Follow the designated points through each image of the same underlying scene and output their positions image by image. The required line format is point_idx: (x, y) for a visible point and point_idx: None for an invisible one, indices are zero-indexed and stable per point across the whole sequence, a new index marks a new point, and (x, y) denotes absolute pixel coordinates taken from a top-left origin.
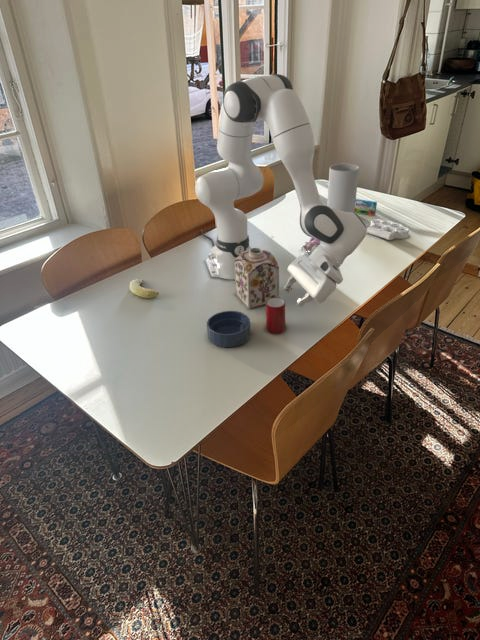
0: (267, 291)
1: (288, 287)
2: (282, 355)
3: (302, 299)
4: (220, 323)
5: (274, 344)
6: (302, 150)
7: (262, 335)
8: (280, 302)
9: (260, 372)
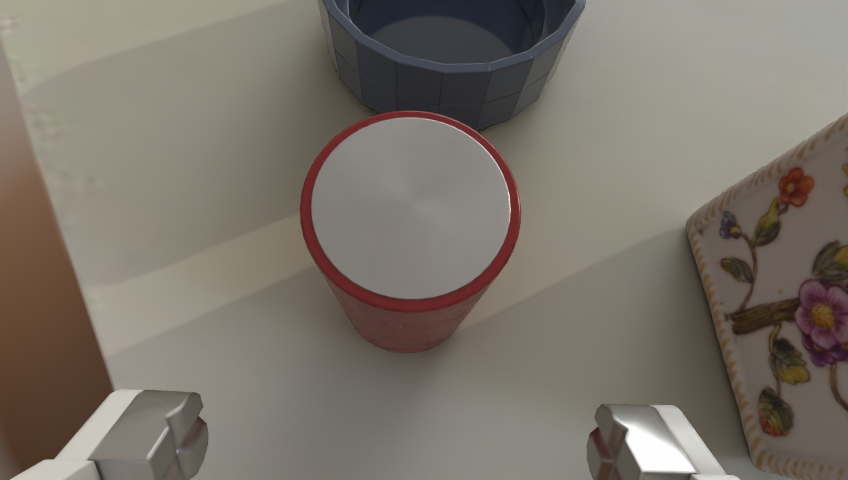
0: (816, 347)
1: (623, 460)
2: (131, 211)
3: (32, 476)
4: (535, 5)
5: (253, 214)
6: None
7: None
8: (387, 246)
9: (80, 63)
